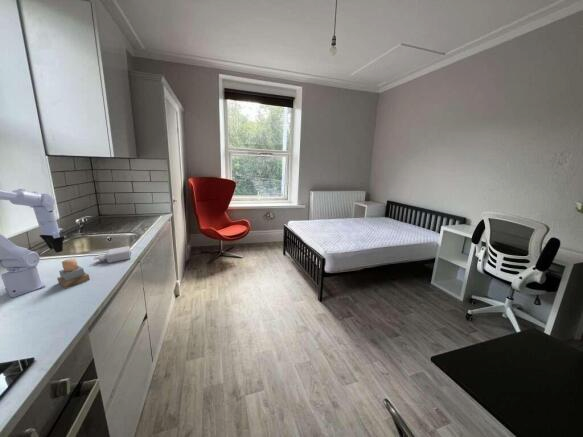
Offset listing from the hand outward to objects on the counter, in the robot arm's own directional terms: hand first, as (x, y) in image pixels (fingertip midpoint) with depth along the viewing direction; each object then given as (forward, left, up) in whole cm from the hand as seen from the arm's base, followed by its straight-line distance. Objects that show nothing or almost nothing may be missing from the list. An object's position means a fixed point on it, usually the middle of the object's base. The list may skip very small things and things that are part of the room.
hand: (56, 250), depth 108 cm
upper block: (-1, -17, -8) cm, 19 cm away
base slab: (-1, -17, -11) cm, 20 cm away
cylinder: (-1, -17, -5) cm, 18 cm away
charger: (+18, -6, -11) cm, 22 cm away
